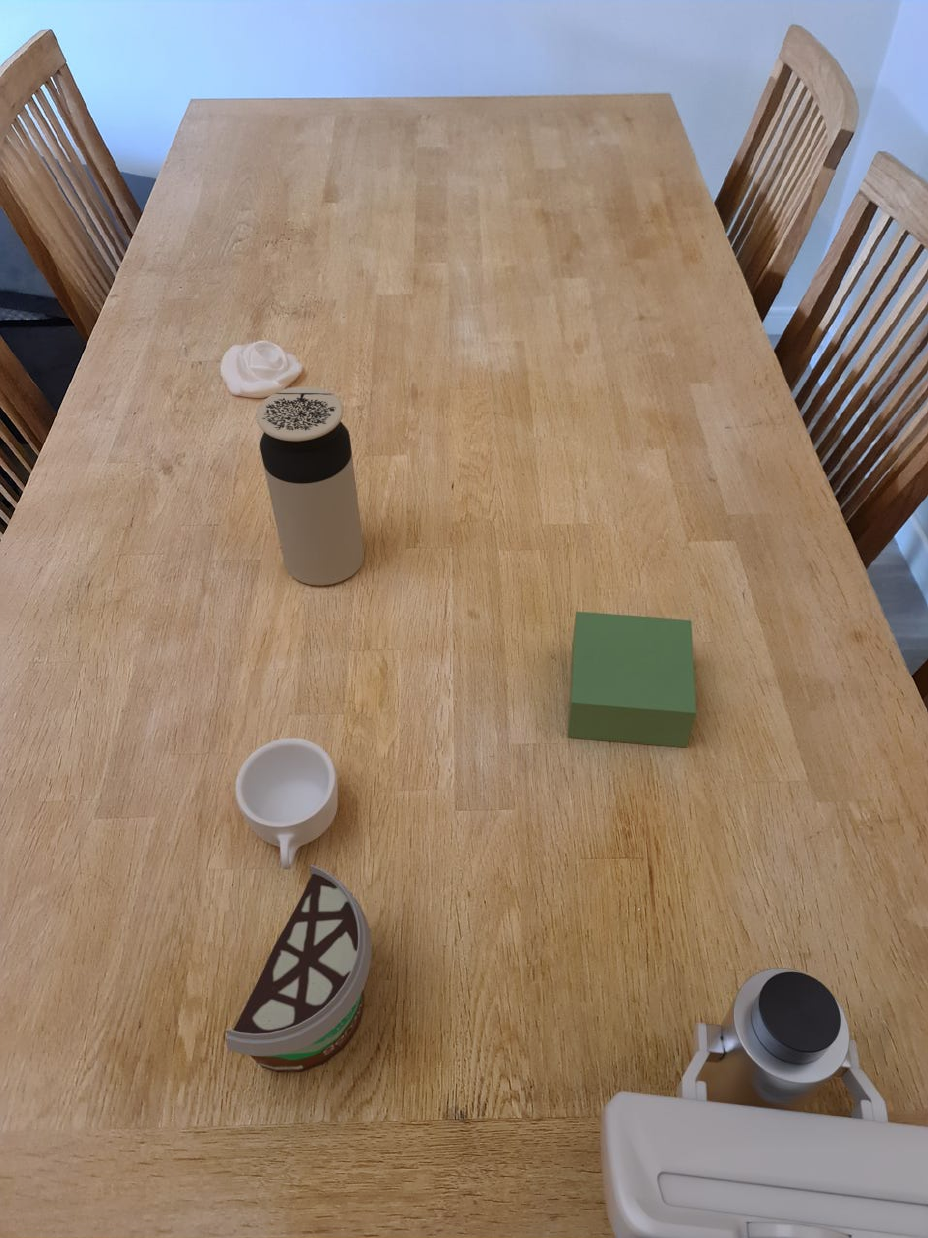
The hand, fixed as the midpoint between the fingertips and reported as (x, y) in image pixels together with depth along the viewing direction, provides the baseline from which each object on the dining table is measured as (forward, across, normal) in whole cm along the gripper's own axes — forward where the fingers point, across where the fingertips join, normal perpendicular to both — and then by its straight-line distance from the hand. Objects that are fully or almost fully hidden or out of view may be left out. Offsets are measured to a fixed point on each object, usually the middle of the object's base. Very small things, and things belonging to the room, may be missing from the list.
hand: (771, 1033), depth 59 cm
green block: (+31, +8, +8) cm, 33 cm away
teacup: (+15, +34, +8) cm, 38 cm away
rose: (+75, +52, +8) cm, 91 cm away
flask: (-1, 0, +8) cm, 8 cm away
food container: (+1, +28, +8) cm, 29 cm away
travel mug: (+45, +38, +8) cm, 59 cm away
